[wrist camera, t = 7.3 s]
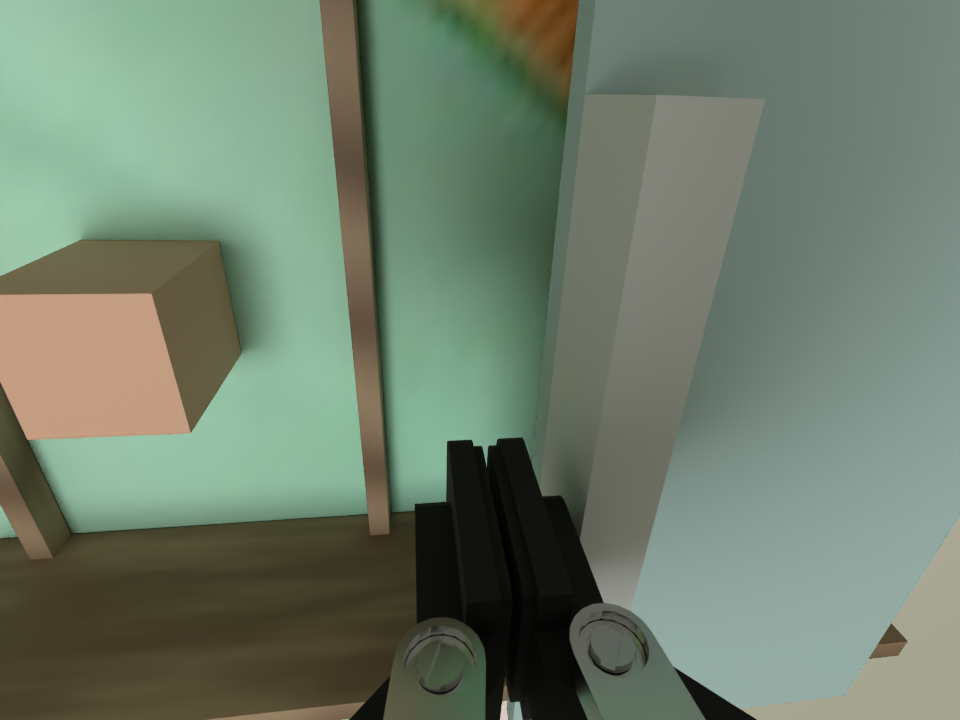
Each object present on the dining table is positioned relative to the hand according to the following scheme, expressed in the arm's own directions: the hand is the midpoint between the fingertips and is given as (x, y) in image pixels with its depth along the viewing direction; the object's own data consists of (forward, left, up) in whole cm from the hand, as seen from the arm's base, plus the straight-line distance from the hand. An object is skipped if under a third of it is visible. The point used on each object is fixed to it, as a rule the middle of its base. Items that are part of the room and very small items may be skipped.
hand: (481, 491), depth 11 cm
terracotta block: (0, -11, -12) cm, 17 cm away
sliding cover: (0, +9, -2) cm, 9 cm away
